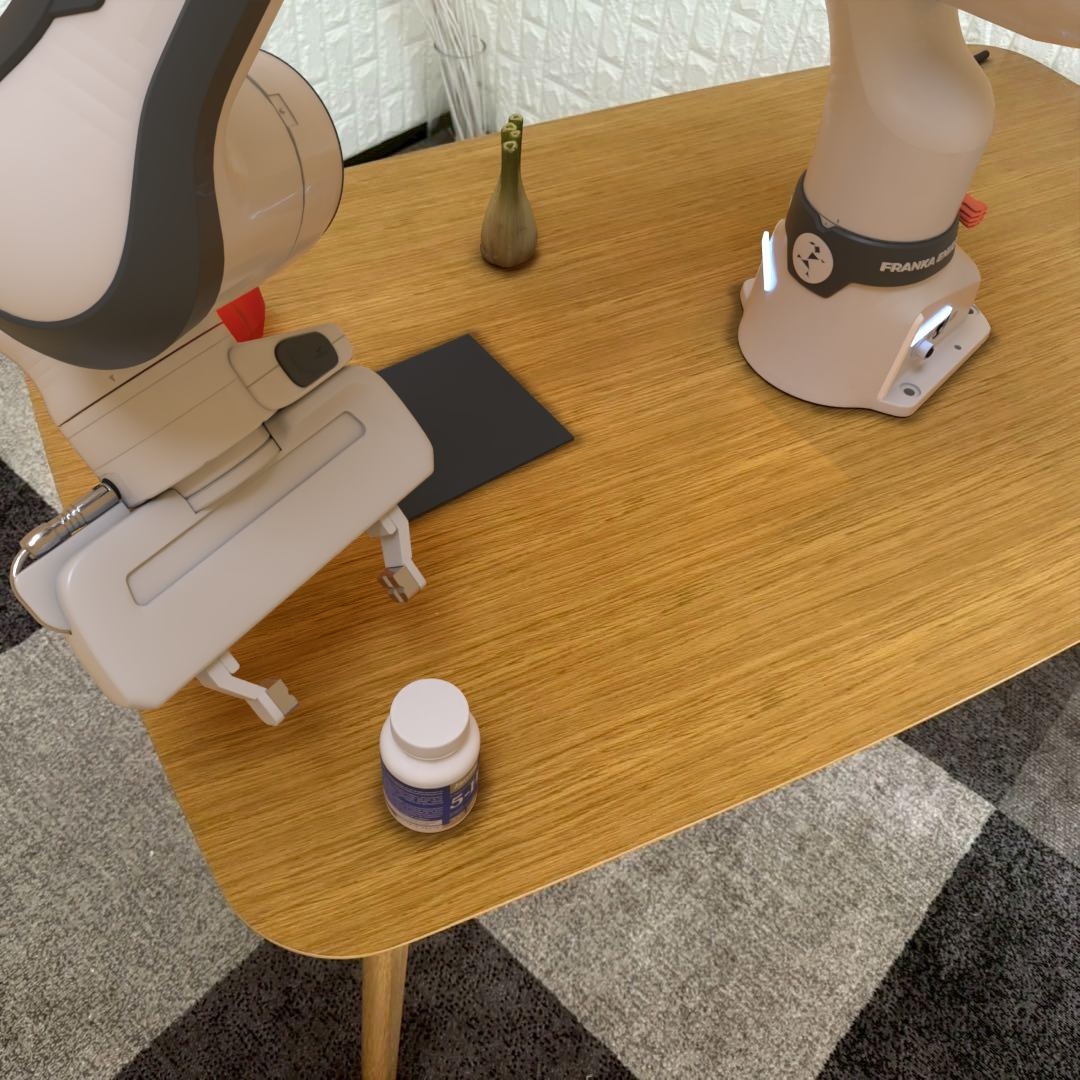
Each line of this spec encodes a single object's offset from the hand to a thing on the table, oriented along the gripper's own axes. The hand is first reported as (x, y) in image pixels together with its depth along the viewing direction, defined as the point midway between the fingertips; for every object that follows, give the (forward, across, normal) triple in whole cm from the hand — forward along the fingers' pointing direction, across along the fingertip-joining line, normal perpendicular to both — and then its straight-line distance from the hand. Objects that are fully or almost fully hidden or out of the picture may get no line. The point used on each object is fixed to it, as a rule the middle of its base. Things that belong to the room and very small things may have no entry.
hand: (350, 652), depth 52 cm
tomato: (-16, +15, +30) cm, 37 cm away
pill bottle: (+10, 0, +3) cm, 11 cm away
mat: (-3, +22, +16) cm, 28 cm away
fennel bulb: (-9, +43, +22) cm, 49 cm away
